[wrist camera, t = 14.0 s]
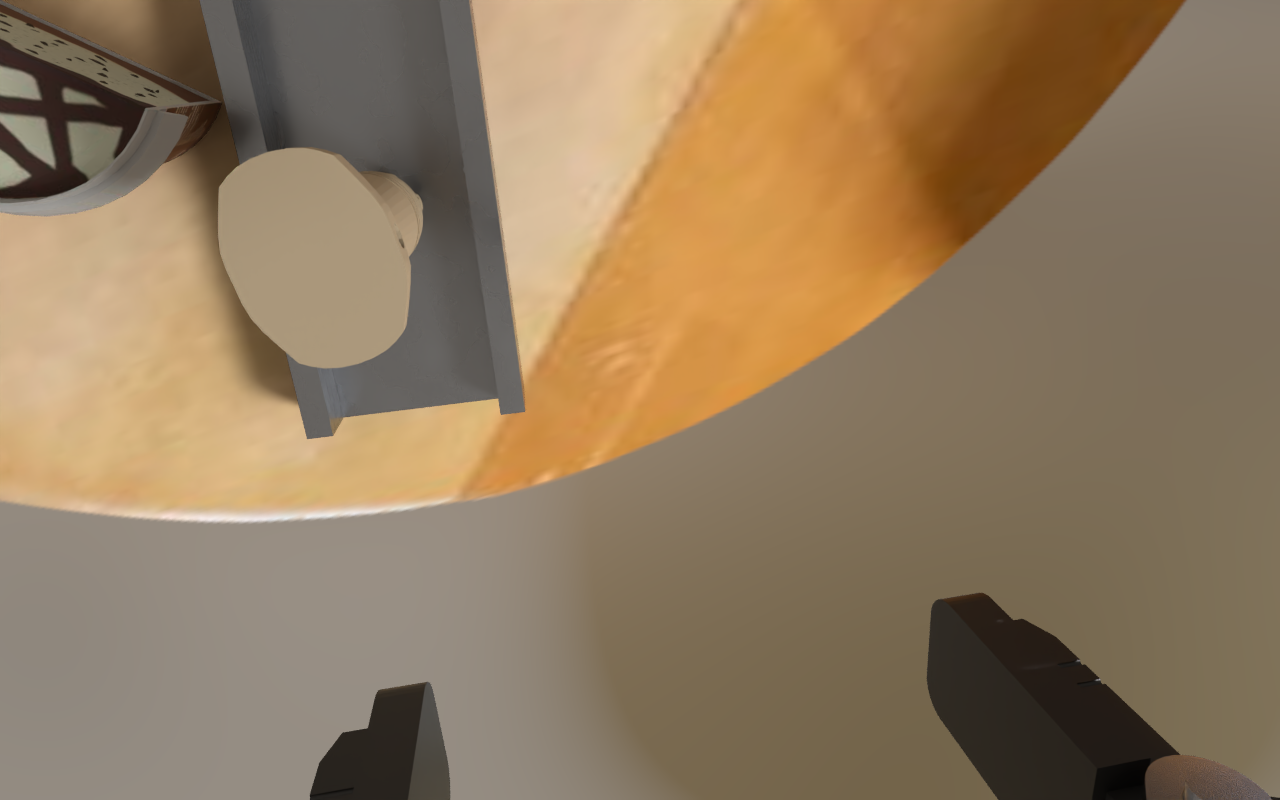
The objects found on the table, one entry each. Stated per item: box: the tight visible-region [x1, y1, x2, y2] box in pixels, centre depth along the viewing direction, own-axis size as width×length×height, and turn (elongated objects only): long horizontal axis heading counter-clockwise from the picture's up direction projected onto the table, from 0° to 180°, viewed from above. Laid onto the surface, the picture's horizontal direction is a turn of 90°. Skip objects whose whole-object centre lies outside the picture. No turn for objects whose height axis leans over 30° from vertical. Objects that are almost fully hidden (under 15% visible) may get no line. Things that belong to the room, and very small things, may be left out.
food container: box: [0, 0, 222, 216], centre depth 30 cm, size 12×6×10 cm, turn 64°
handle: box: [218, 147, 423, 369], centre depth 30 cm, size 5×6×15 cm
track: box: [200, 0, 525, 439], centre depth 36 cm, size 20×10×4 cm, turn 4°
